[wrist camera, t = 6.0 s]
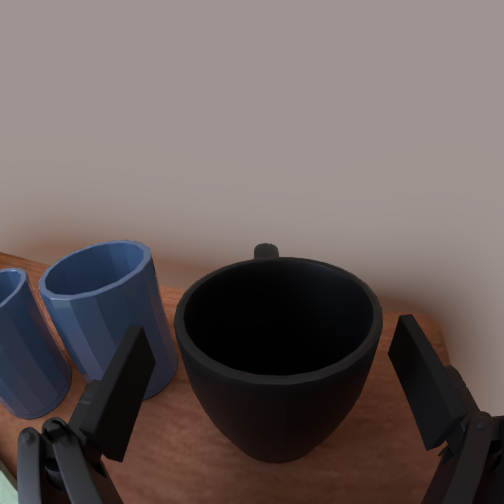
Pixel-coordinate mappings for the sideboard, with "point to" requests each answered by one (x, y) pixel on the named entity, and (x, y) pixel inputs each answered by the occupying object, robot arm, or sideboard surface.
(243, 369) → the mug
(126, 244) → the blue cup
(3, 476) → the tray
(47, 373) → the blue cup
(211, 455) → the sideboard surface
